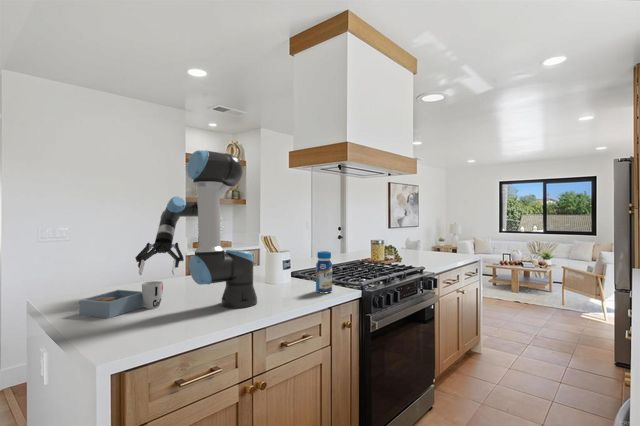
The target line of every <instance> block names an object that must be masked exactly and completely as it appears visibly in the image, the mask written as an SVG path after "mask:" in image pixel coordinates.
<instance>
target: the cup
mask: <svg viewBox="0 0 640 426" xmlns="http://www.w3.org/2000/svg"><path fill="white" fill-rule="evenodd" d="M163 289H164V282H163V281H161V280H160V281H157V280H154V281H145V282H143V283H141V291H142V295H143V300H144V304H145V306H144V308H146V309H148V310H149V309H151V310H153V309H157V308H159V307H161V306H160V305H161V301H162V297H163V291H164V290H163Z"/></svg>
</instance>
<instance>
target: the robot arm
mask: <svg viewBox="0 0 640 426" xmlns="http://www.w3.org/2000/svg"><path fill="white" fill-rule="evenodd" d="M186 168H187V169H186V172H187V176H188V178H190V179H191V180H192V181H193V184H192V185H194V186H195V187H196V190H197V200H196V201H189V200H188V201H186V200H185V199H184V198H182V197H180V196H173V197H171V198H169V199H170V200H169V201H168V202H167V204H166V207H165V209H164V210H163V211H162V213H161V215H160V221H159V223H158V228H157V232H156V237H155V241H154V243H153V244H152V243H150V242H147V243H146V245H145V247H144V248H143V249H142V250H141V251H139V253H138V254H137V255H136V256H134V257H135V261H136V263H137V262H138V264H137V267H138V274H139V276H142V275H143V272H144V268H145V264H146V263H145V262H146V261H147V260H149V259H150V258H151V257H153V256H154V255H156V254H166V253H167V254H168V255H169V256H171V258H173V261H172V262H173V263H172V268H171V273H172V276H173V275H175V273H176V268H179V265H180V263H181V262H184V256H183V254H182V252H181V249H180V247H179V243H178V242H175V243H173V241H174V235H175V230H176V226H177V223H178V221H179V219H180V218H181V217H182V218H184V217H185V218H186V217H187V218H190V217H191V218H192V217H197V227H198V228H197V230H198V235H197V236H198V247H197V248H196V249H195V251H194V255H193V256H191V257H190V259H189V262H188V266H189V267H188V268H189V273H190V276H191V278H192V280H193V281H194V282H195V283H196V284H197V285H200V286H201V285H211V284H216V283H217V284H219V283H225V288H224V292H223V294H222V297H221V306H222V305H223V306H222V307H225V308H230V307H231V308H233V309H237V308H239V307H242V308H248V307H247V306H249V307H252V306H251V305H253V306H255V305H257V304H258V296H257V293H256V290H255V287H254V263H255V262H254V254H253V252H251V251H248V250H239V249H238V250H237V249H226V250H225V249H224V248H223V247H222V246H221V212H220V211H221V210H220V205H221V204H220V203H221V202H220V199H221V198H222V197H223V196H224V195H225V194H226V193H227V191H229V189H230V188H232V187H235V186H236V185H238V183H239V182H240V180H241V179H242V177H243V171H244V170H243V165H242V162H241V161H240V160H239V159H238V157H236V155H233V154H231V153H224V152H219V151H210V150H195V151H194V152H192V154H191V155H190V157H189V159H188V162H187V167H186ZM172 248H173V249H174V250H175V251H176V253H175V252H174V251H173V250H172ZM256 303H257V304H256ZM254 304H255V305H254Z"/></svg>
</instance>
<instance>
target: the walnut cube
mask: <svg viewBox="0 0 640 426" xmlns="http://www.w3.org/2000/svg"><path fill="white" fill-rule="evenodd" d="M114 300H115V298H114V297H101V298H98V299H94V301H106V302H111V301H114Z"/></svg>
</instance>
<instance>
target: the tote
mask: <svg viewBox="0 0 640 426" xmlns="http://www.w3.org/2000/svg"><path fill="white" fill-rule="evenodd" d="M101 297H114V298H115V300H114V301H111V302H106V301H94V299H98V298H101ZM78 305H79V306H78V308H79V310H78V311H79V312H78V313H79V314H78V316H83V317H92V318H93V317H94V318H101V319H102V318H103V319H104V318H105V319H112V318H113V317H114V318H115V317H117V316H120V315H123V314H125V313H128V312H131V311H134V310H137V309H139V308H143V307H145V304H144V300H143V295H142V290H141V291H140V290H139V291H138V290H128V289H127V290H125V289H116V290H112V291H108V292H105V293H101V294H98V295H94V296H89V297H86V298H82V299H79V301H78Z"/></svg>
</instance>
